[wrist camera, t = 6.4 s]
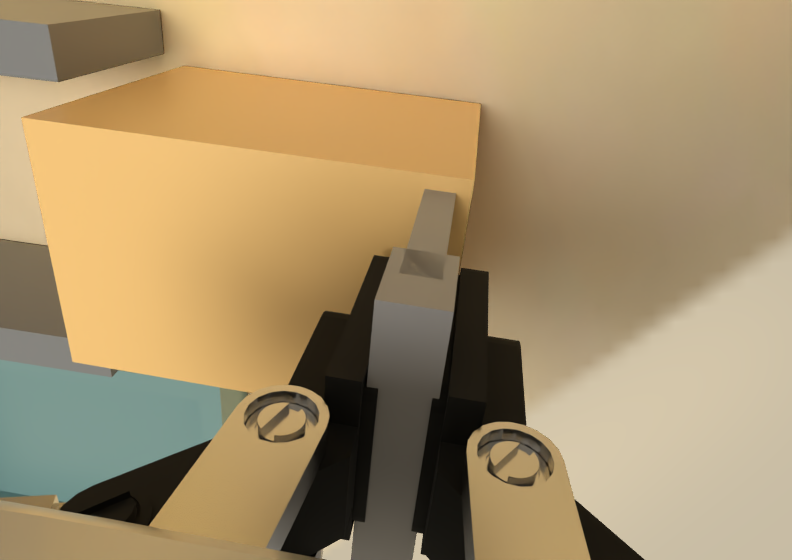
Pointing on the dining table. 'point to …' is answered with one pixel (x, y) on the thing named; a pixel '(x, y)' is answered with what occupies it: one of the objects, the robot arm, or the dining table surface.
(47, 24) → the dock
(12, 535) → the robot arm
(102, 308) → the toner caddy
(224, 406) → the tray
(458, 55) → the dining table surface
